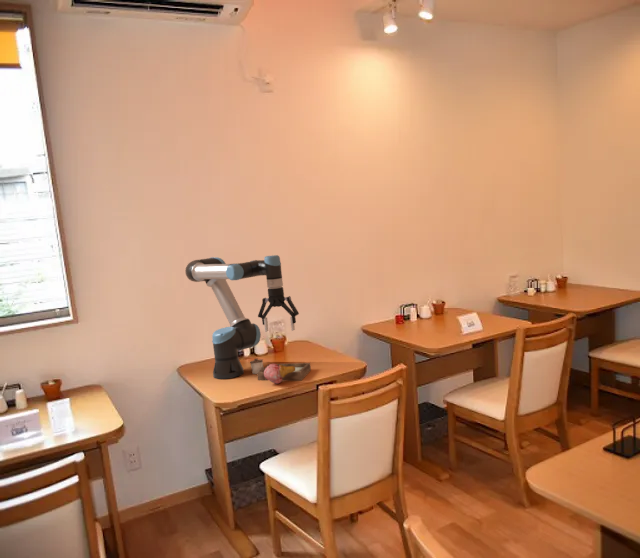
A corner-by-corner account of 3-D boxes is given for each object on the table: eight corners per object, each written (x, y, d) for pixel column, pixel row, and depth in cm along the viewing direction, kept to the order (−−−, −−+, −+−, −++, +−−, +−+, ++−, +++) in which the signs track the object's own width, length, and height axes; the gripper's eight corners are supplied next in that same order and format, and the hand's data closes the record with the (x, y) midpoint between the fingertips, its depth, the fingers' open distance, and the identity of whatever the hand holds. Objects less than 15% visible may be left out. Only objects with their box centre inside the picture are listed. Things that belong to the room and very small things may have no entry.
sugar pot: (253, 373, 286) (250, 358, 286) (265, 371, 286) (262, 356, 286) (251, 375, 280) (248, 360, 280) (264, 373, 280) (261, 358, 280)
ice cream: (297, 375, 268) (267, 382, 268) (293, 356, 266) (262, 363, 266) (297, 383, 257) (265, 390, 257) (293, 363, 255) (261, 370, 255)
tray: (258, 381, 270) (257, 373, 270) (269, 371, 285) (268, 364, 285) (301, 380, 264) (300, 372, 264) (310, 370, 280) (310, 362, 279)
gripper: (248, 290, 270) (253, 333, 272) (297, 286, 263) (302, 331, 266) (254, 288, 277) (258, 330, 280) (302, 284, 271) (306, 327, 273)
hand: (279, 330), depth 273 cm, fingers open, 13 cm apart
